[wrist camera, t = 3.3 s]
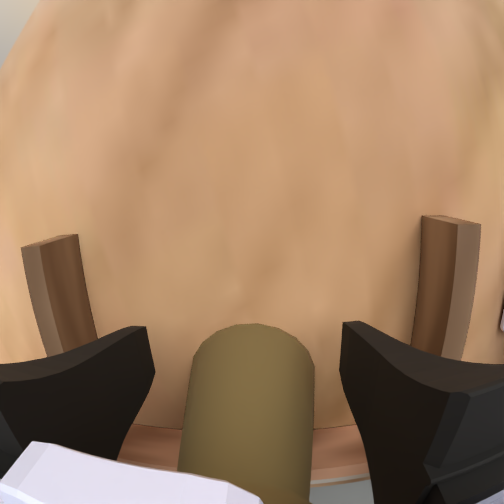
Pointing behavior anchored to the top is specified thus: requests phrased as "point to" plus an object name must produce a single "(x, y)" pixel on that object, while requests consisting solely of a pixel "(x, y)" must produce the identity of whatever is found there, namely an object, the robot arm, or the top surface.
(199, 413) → the olive brown pear shape
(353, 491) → the slate tile
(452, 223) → the offcut rack
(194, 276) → the top surface
